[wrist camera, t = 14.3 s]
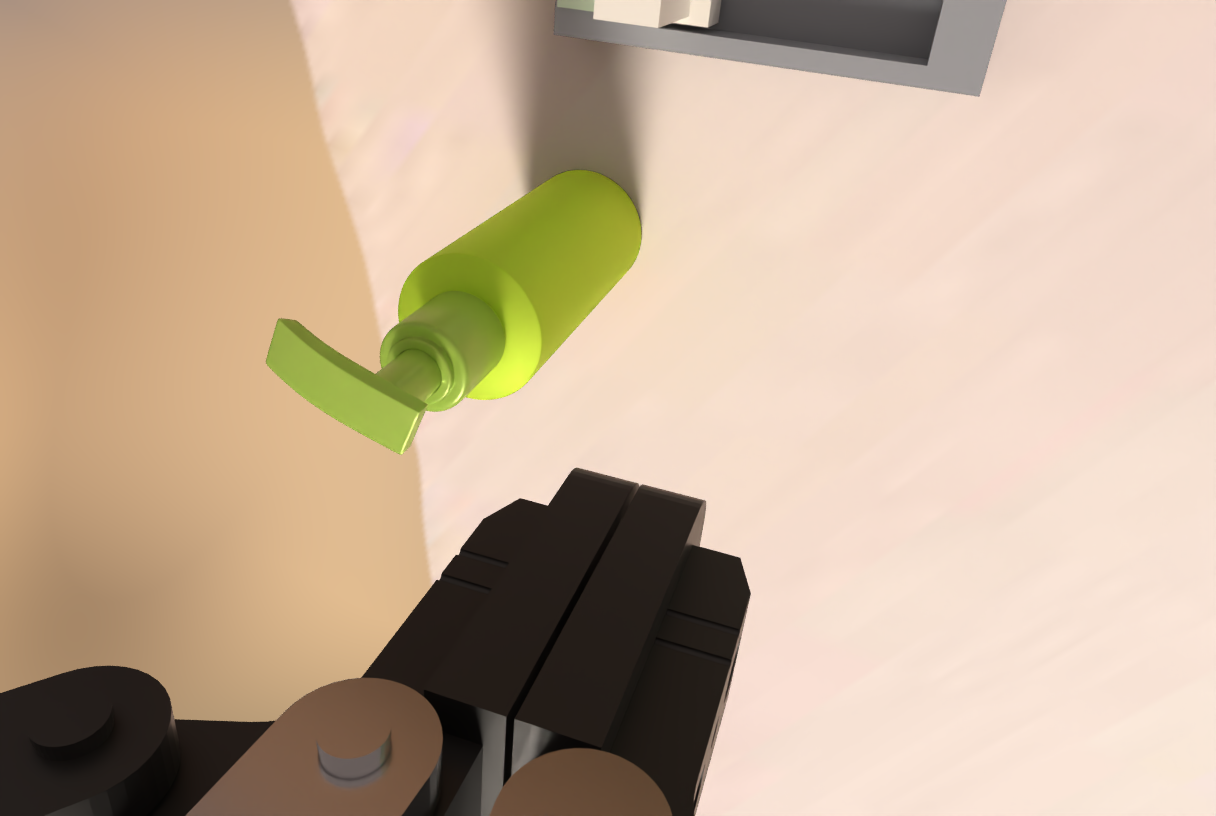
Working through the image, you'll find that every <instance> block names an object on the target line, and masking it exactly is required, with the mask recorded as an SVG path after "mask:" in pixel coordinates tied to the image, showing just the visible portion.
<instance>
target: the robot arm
mask: <svg viewBox="0 0 1216 816" xmlns="http://www.w3.org/2000/svg"><path fill="white" fill-rule="evenodd" d="M705 511H706V501H705V500H701V499H697V498H693V497H689V496H685V495H682V494H678V493H674V492H670V491H666V490H662V489H658V488H655V487H651V486H647V485H643V484H642V485H641V486H640V487H639V484H638V483H634V482H630V481H627V480H623V479H619V478H615V477H611V476H607V475H603V474H600V473H596V472H592V471H588V470H584V469H580V468H575V469H573V470H572V471H571V473H570V474H569V475H568V477H567V478H566V480H565V481H564V483H563V484H562V486H561V487H560V489H559V490H558V492H557V493H556V495H555V496H554V498H553V499H552V501H551V502H550V503H549V505H548V506H547V505H543V504H539V503H536V502H532V501H528V500H525V499H521V498H520V499H518V500H516V501H514V502H513V503H511V504H509V505H507V506H506V507H504V508H502V509H500V510H499V511H497V512H495V513H493V514H491V515H490V516H488V517H486V518H484V519H483V520H482V522H481V523H480V524H479V526H478V527H477V528H476V529H475V531H474V532H473V533H472V535H471V536H470V537H469V539H468V540H467V541H466V542H465V544H464V545H463V546H462V548H461V550H460V554H459V555H455V557H454V558H453V559H452V561H451V562H450V563H449V565H448V566H447V567H446V568H445V570H444V571H443V572H442V575H441V578H440V580H436V581H435V583H434V584H433V585H432V587H431V588H430V589H429V591H428V592H427V593H426V594H425V596H424V597H423V598H422V600H421V601H420V602H419V604H418V605H417V606H416V607H415V609H414V610H413V611H412V613H411V614H410V615H409V617H408V618H407V619H406V621H405V622H404V623H403V624H402V626H401V627H400V628H399V630H398V631H397V632H396V633H395V635H394V636H393V637H392V639H391V640H390V641H389V643H388V644H387V645H386V646H385V648H384V649H383V650H382V652H381V653H380V654H379V656H378V657H377V658H376V659H375V661H374V662H373V663H372V665H371V666H370V667H369V669H368V670H367V671H366V673H365V674H364V675H363V676H362V677H361V678H355V679H347V680H343V681H338V682H334V683H331V684H328V685H326V686H323V687H320V688H318V689H316V690H314V691H312V692H310V693H308V694H306V695H305V696H303V697H302V698H301V699H299V700H298V701H296V702H295V703H294V704H293V705H292V706H290V707H289V708H288V709H287V710H286V711H285V712H284V713H283V714H282V715H281V716H280V717H279V718H278V719H277V720H276V721H269V722H234V721H204V720H177V719H174V716H173V711H172V706H171V701H170V698H169V696H168V693H167V692H166V689H165V688H164V687H163V686H162V685H161V684H160V682H159V681H158V680H156V679H155V678H153V677H152V676H150V675H149V674H147V673H144V672H142V671H139V670H136V669H132V668H127V667H120V666H94V667H89V668H82V669H77V670H73V671H69V672H66V673H62V674H59V675H56V676H53V677H50V678H47V679H44V680H40V681H37V682H34V683H31V684H28V685H25V686H21V687H18V688H15V689H12V690H9V691H6V692H3V693H0V816H695V814H696V810H697V807H698V803H699V800H700V796H701V792H702V789H703V785H704V781H705V778H706V774H707V770H708V766H709V763H710V760H711V756H712V753H713V749H714V745H715V742H716V738H717V734H718V731H719V727H720V724H721V720H722V716H723V713H724V709H725V706H726V702H727V698H728V694H729V690H730V685H731V681H732V676H733V672H734V667H735V663H736V658H737V654H738V649H739V645H740V640H741V636H742V631H743V627H744V622H745V618H746V613H747V608H748V604H749V599H750V595H751V593H750V589H749V586H748V583H747V579H746V576H745V572H744V569H743V566H742V562H741V559H740V558H739V557H735V556H732V555H728V554H724V553H721V552H717V551H713V550H710V549H706V548H702V547H699V546H700V541H701V535H702V530H703V524H704V518H705Z"/></svg>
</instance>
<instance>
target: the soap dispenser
mask: <svg viewBox="0 0 1216 816" xmlns="http://www.w3.org/2000/svg"><path fill="white" fill-rule="evenodd" d="M640 245H641V224H640V219H639V216H638V213H637V210H636V208H635V206H634V204H633V202H632V201H631V199H630V198H629V196H628V195H627V194H626V192H625V191H624V190H623V189H622V188H621V187H620V186H619V185H618V184H616V183H615V182H614V181H612V180H611V179H609V178H607V177H605V176H603V175H601V174H599V173H596V172H592V171H587V170H572V171H566V172H563V173H560V174H558V175H556V176H554V177H552V178H551V179H549V180H548V181H546V182H545V183H543V184H541V185H540V186H538V187H537V188H535V189H534V190H532V191H531V192H529V193H528V194H526V195H525V196H523V197H522V198H520V199H519V200H517V201H515V202H514V203H512V204H511V205H509V206H508V207H506V208H505V209H503V210H502V211H500V212H499V213H497V214H496V215H494V216H493V217H491V218H489V219H488V220H486V221H485V222H483V223H482V224H480V225H479V226H477V227H476V228H474V229H473V230H471V231H470V232H468V233H467V234H465V235H463V236H462V237H460V238H459V239H457V240H456V241H454V242H453V243H451V244H450V245H448V246H447V247H445V248H444V249H442V250H441V251H439V252H437V253H436V254H434V255H433V256H431V257H430V258H428V259H427V260H425V261H424V262H422V263H421V264H420V265H418V266H417V267H416V268H415V269H414V270H413V271H412V272H411V274H410V275H409V276H408V278H407V279H406V281H405V283H404V285H403V288H402V291H401V294H400V298H399V305H398V317H399V323H398V324H397V325H396V326H394V327H393V328H392V329H391V330H390V331H389V332H388V333H387V335H386V336H385V338H384V340H383V342H382V345H381V349H380V363H381V368H382V369H381V370H380V371H379V372H377V373H376V374H374V373H372V372H371V371H369V370H367V369H365V368H364V367H362V366H360V365H359V364H357V363H355V362H353V361H352V360H350V359H348V358H347V357H345V356H343V355H342V354H340V353H339V352H337V351H335V350H334V349H333V348H331V347H330V346H328V345H327V344H325V343H324V342H323V341H321V340H320V339H319V338H317V337H316V336H314V335H313V334H312V333H311V332H310V331H309V330H307V329H306V328H305V327H304V326H302V325H301V324H300V323H299V322H298V321H296V320H290V319H278V321H277V324H276V328H275V331H274V334H273V338H272V341H271V345H270V348H269V352H268V355H267V359H266V364H267V365H268V366H269V367H270V369H272V371H274V372H275V373H276V374H277V375H278V376H279V377H280V378H281V379H282V380H283V381H284V382H285V383H286V384H288V385H289V386H290V387H291V388H292V389H293V390H295V391H296V392H297V393H298V394H300V395H301V396H302V397H303V398H305V399H306V400H307V401H309V402H310V403H312V404H313V405H315V406H316V407H317V408H319V409H320V410H322V411H324V412H325V413H326V414H328V415H330V416H331V417H333V418H335V419H336V420H338V421H339V422H341V423H343V424H345V425H346V426H348V427H350V428H352V429H353V430H355V431H357V432H359V433H360V434H362V435H364V436H366V437H368V438H370V439H371V440H373V441H375V442H377V443H379V444H381V445H383V446H385V447H386V448H389V449H390V450H392V451H394V452H396V453H398V454H400V455H402V454H403V453H404V452H405V451H406V450H407V449H408V448H409V447H410V446H411V443H412V441H413V439H414V436H415V434H416V432H417V429H418V427H419V425H420V423H421V420H422V418H423V416H424V413H425V411H432V412H438V411H444V410H447V409H450V408H452V407H454V406H455V405H457V404H458V403H459V402H460V401H462V400H463V399H464V398H465V397H467V398H472V399H478V400H492V399H498V398H502V397H505V396H508V395H510V394H512V393H514V392H516V391H518V390H519V389H520V388H522V387H523V386H524V385H525V384H526V383H527V382H528V381H529V380H530V379H531V378H532V377H533V376H534V374H535V373H536V372H537V371H538V370H539V369H540V368H541V367H542V366H543V364H544V363H545V362H546V361H547V360H548V359H549V358H550V357H551V356H552V354H553V353H554V352H555V351H556V350H557V349H558V348H559V347H560V346H561V345H562V343H563V342H564V341H565V340H566V339H567V338H568V337H569V336H570V335H571V333H572V332H573V331H574V330H575V329H576V328H577V327H578V326H579V325H580V323H581V322H582V321H583V320H584V319H585V318H586V317H587V316H588V315H589V313H590V312H591V311H592V310H593V309H594V308H595V307H596V306H597V305H598V303H599V302H600V301H601V300H602V299H603V298H604V297H605V296H606V295H607V294H608V292H609V291H610V290H611V289H612V288H613V287H614V286H615V285H616V284H617V282H618V281H619V280H620V279H621V278H622V277H623V276H624V275H625V274H626V272H627V271H628V270H629V269H630V268H631V266H632V265H633V263H634V262H635V260H636V258H637V255H638V253H639V249H640Z"/></svg>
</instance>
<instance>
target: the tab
mask: <svg viewBox="0 0 1216 816" xmlns="http://www.w3.org/2000/svg"><path fill="white" fill-rule="evenodd" d="M720 7H721V0H595V2H594V15H593V19H597V20H604V21H611V22H618V23H625V24H633V25H640V26H647V27H654V28H660V27H662V26H665V25H668V24H670V23H678V24H685V25H693V26H700V27H707V28H708V27H710V26H712V25H715V24H717V23H718V21H719V14H720Z"/></svg>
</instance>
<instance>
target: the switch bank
mask: <svg viewBox="0 0 1216 816" xmlns="http://www.w3.org/2000/svg"><path fill="white" fill-rule="evenodd" d="M1006 1H1007V0H721V7H720V14H719V21H718V23H717V24H715V25H712V26H710V27H708V28H707V27H700V26H693V25H685V24H678V23H670V24H668V25H665V26H662V27H660V28H654V27H647V26H640V25H633V24H625V23H618V22H611V21H604V20H597V19H593V15H594V2H595V0H556V3H555V21H554V35H560V36H567V37H573V38H580V39H587V40H594V41H601V42H608V43H615V44H622V45H628V46H635V47H642V48H649V49H656V50H663V51H670V52H676V53H683V54H690V55H697V56H704V57H711V58H718V59H725V60H731V61H738V62H745V63H752V64H759V65H766V66H773V67H780V68H786V69H793V70H800V71H807V72H814V73H821V74H828V75H834V76H841V77H848V78H855V79H862V80H869V81H876V82H883V83H889V84H896V85H903V86H910V87H917V88H924V89H931V90H937V91H944V92H951V93H958V94H965V95H972V96H980V92H981V89H982V85H983V82H984V78H985V75H986V71H987V68H988V64H989V61H990V57H991V54H992V50H993V47H994V43H995V40H996V36H997V33H998V29H999V25H1000V22H1001V18H1002V15H1003V11H1004V8H1005V4H1006Z"/></svg>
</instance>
